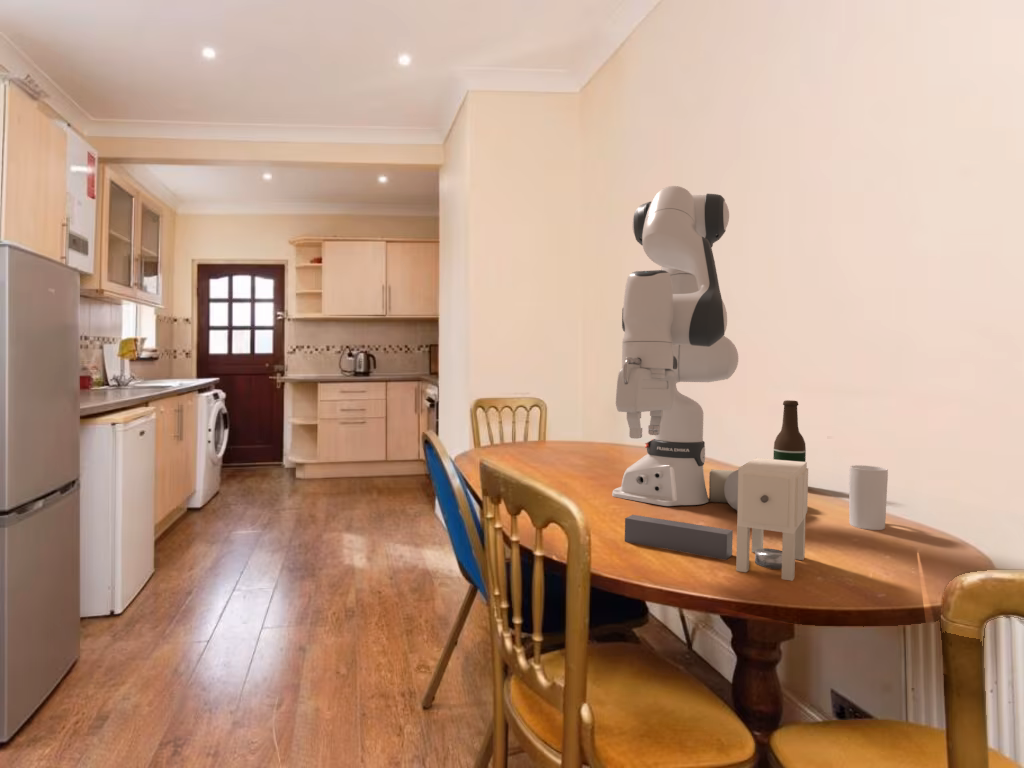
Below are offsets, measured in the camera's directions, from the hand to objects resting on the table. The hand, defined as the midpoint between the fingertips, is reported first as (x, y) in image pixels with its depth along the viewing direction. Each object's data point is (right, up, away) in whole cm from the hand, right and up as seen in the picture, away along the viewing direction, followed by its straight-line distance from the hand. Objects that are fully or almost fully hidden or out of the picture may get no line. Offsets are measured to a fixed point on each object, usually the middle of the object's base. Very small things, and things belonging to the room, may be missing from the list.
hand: (645, 436), depth 108 cm
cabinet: (+18, -20, -11) cm, 29 cm away
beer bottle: (+50, -19, +52) cm, 74 cm away
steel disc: (+18, -20, -11) cm, 29 cm away
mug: (+49, -20, +16) cm, 56 cm away
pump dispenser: (+24, -14, +23) cm, 36 cm away
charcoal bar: (+5, -20, -3) cm, 20 cm away
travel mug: (+23, -15, +36) cm, 45 cm away
